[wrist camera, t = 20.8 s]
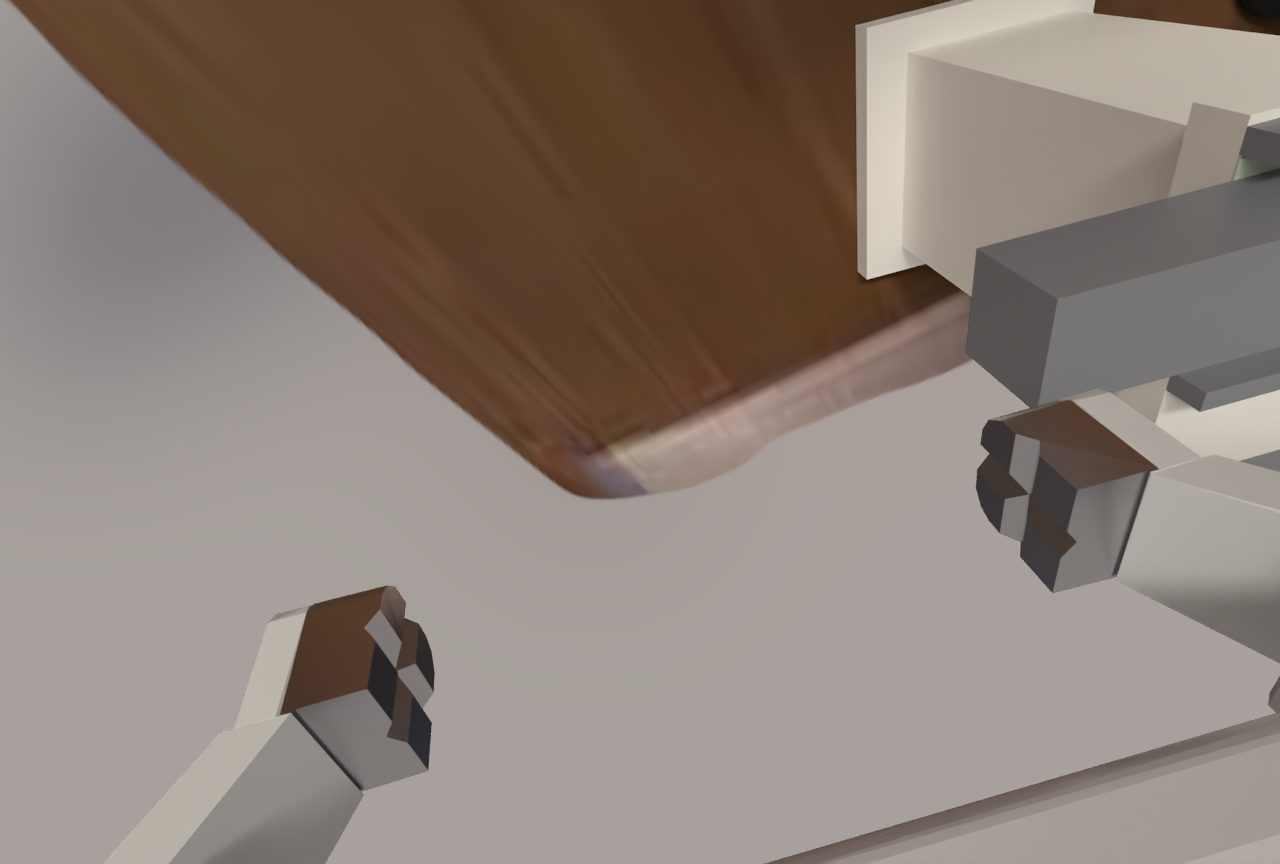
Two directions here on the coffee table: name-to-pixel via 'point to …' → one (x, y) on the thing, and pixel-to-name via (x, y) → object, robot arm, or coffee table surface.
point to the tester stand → (1064, 157)
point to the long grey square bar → (1131, 293)
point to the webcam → (1263, 8)
